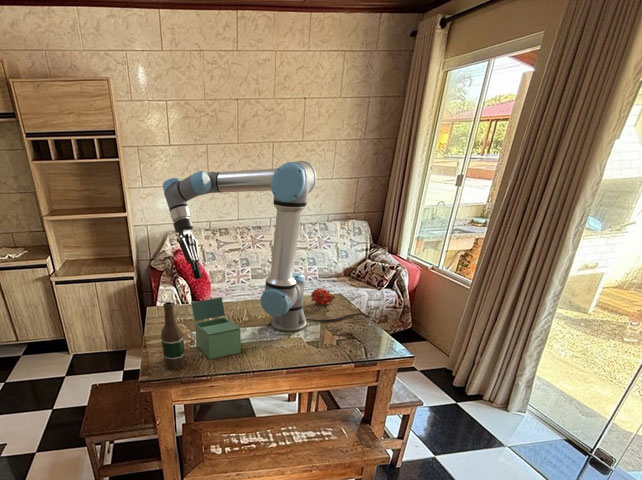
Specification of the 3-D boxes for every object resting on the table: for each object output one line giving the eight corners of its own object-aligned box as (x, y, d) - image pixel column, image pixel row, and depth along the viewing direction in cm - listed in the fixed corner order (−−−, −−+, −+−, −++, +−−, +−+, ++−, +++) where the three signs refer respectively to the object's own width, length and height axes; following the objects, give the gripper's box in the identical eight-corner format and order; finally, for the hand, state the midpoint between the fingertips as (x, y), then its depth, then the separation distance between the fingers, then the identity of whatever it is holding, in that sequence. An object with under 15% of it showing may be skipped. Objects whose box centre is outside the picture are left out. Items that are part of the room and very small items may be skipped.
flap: (194, 321, 161) (194, 321, 161) (224, 315, 165) (224, 315, 165) (191, 302, 159) (191, 302, 160) (221, 297, 163) (221, 297, 164)
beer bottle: (190, 364, 151) (184, 302, 139) (174, 372, 146) (166, 308, 134) (176, 358, 155) (169, 297, 144) (160, 365, 150) (152, 303, 139)
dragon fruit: (308, 305, 206) (332, 310, 203) (307, 300, 198) (332, 305, 194) (313, 289, 206) (337, 294, 203) (312, 283, 198) (337, 289, 195)
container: (196, 344, 166) (194, 320, 161) (225, 338, 170) (224, 315, 165) (209, 359, 154) (208, 334, 149) (240, 352, 158) (240, 327, 153)
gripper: (182, 224, 170) (198, 280, 174) (165, 222, 159) (182, 282, 163) (197, 218, 167) (213, 275, 170) (181, 215, 155) (198, 276, 159)
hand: (198, 278), depth 166 cm, fingers closed
